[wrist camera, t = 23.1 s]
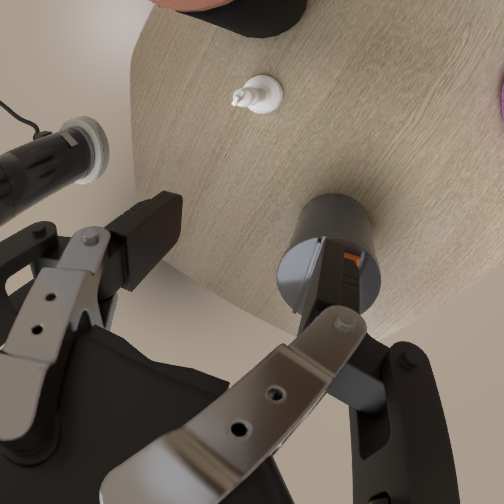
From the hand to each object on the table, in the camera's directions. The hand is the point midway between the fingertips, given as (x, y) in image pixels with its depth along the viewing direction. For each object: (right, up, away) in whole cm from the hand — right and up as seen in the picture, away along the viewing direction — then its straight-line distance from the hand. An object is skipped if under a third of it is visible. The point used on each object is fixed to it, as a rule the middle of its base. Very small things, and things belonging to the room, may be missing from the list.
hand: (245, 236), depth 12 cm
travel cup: (+11, +2, +28) cm, 31 cm away
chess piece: (+2, +18, +22) cm, 29 cm away
